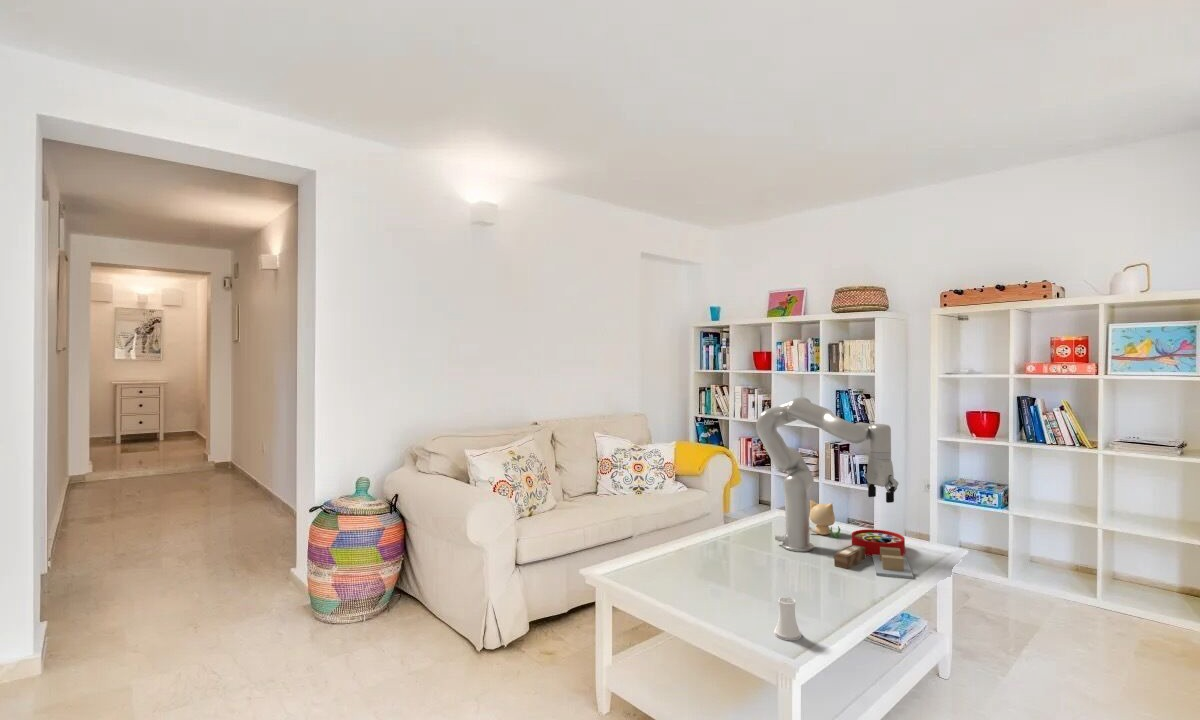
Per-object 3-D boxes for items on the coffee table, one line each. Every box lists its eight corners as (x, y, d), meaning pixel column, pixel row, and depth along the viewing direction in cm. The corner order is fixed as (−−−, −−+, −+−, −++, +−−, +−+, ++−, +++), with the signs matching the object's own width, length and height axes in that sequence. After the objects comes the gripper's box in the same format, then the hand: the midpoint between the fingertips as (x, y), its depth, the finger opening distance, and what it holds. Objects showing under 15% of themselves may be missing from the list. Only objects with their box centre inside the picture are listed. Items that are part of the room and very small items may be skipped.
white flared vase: (799, 642, 172) (798, 607, 172) (772, 638, 176) (771, 603, 176) (802, 631, 179) (801, 597, 179) (776, 627, 182) (775, 593, 182)
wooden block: (847, 570, 230) (847, 556, 230) (834, 567, 233) (834, 553, 233) (865, 559, 241) (865, 546, 241) (852, 557, 244) (852, 544, 244)
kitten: (844, 534, 274) (843, 501, 274) (835, 539, 267) (834, 505, 267) (812, 528, 284) (811, 496, 284) (802, 533, 277) (802, 500, 277)
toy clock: (844, 529, 262) (891, 529, 262) (844, 543, 262) (891, 542, 262) (863, 543, 242) (914, 543, 242) (863, 558, 242) (914, 557, 242)
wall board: (876, 575, 223) (876, 560, 223) (872, 556, 244) (872, 542, 244) (913, 578, 219) (912, 563, 219) (905, 559, 239) (905, 545, 239)
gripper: (857, 453, 246) (857, 495, 246) (888, 460, 230) (889, 505, 230) (872, 452, 248) (873, 494, 249) (905, 458, 232) (905, 503, 232)
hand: (880, 499), depth 239 cm, fingers open, 9 cm apart
